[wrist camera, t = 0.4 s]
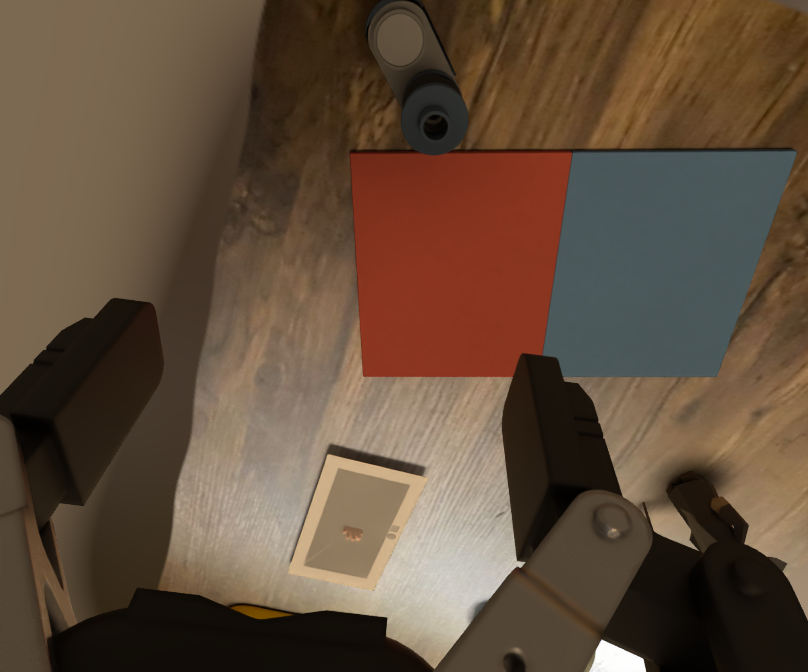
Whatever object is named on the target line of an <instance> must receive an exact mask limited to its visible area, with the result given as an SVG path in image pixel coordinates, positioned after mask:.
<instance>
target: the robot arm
mask: <svg viewBox="0 0 808 672" xmlns="http://www.w3.org/2000/svg"><path fill="white" fill-rule="evenodd" d="M163 359H164V358H163V352H162V346H161V340H160V335H159V328H158V322H157V317H156V311H155V308H154V306H153V304H151V303H150V302H142V301H135V300H127V299H119V298H113V299H111V300H110V301H109V302H108V303H107V304H106V305H105V306H104V307H103V309H102V310H101V311H100V312H99V313H98V314H97V315H96V316H95V317H94V318H93V319H92V318H83V319H82V320H80V321H78V322H76V323H75V324H73V325H71V326H69V327H67V328H65V329H64V330H62V331H61V332H60V333H59V334H58V335H57V336H56V337H55V338H54V339H53V340H52V341H51V343H50V344H48V346H47V347H46V350H43V351H42V352H41V353H40V354H39V355H38V356H37V357H36V358H35V359H34V363H33V364H30V365H29V366H28V367H27V368H26V369H25V370H24V371H23V372H22V373H21V374H20V375H19V376H18V377H17V378H16V379H15V380H14V381H13V382H12V384H11V385H10V386H9V387H8V388H7V389H6V390H5V391H4V392H3V393H2V394H1V395H0V672H584V670H585V669H586V667H587V665H588V663H589V661H590V660H591V658H592V656H593V654H594V652H595V651H596V649H597V647H598V645H599V643H600V641H601V639H602V640H604V641H606V642H609V643H611V644H613V645H615V646H617V647H619V648H622V649H624V650H626V651H628V652H630V653H632V654H635V655H637V656H639V657H641V658H643V659H644V663H645V668H646V672H808V620H807V618H806V616H805V613H804V611H803V609H802V607H801V605H800V603H799V601H798V598H797V596H796V594H795V592H794V590H793V588H792V586H791V584H790V582H789V580H788V579H787V577H786V576H785V575H784V573H783V572H782V571H781V570H780V569H779V567H778V566H777V565H776V564H775V563H774V562H772V561H771V560H770V559H769V558H768V557H766V556H765V555H764V554H762V553H761V552H759V551H757V550H756V549H754V548H752V547H750V546H748V545H745V544H742V543H739V542H735V541H728V540H725V541H718V542H714V543H713V544H711V545H710V546H709V547H708V548H707V549H706V550H705V552H704V553H702V552H700V551H697V550H695V549H692V548H690V547H687V546H685V545H682V544H680V543H678V542H675V541H673V540H670V539H668V538H665V537H663V536H661V535H659V534H657V533H656V532H654V531H652V530H651V527H650V524H649V522H648V520H647V519H646V517H645V516H644V514H643V513H642V512H641V511H640V510H639V509H638V508H637V507H636V506H635V505H634V504H633V503H631V502H630V501H628V500H627V499H625V498H623V496H622V493H621V490H620V486H619V483H618V480H617V477H616V474H615V471H614V467H613V464H612V461H611V458H610V455H609V451H608V448H607V445H606V442H605V439H603V432H602V429H601V426H600V423H598V416H597V413H596V410H595V407H594V404H593V401H592V400H591V398H590V397H589V396H588V395H587V394H586V392H585V391H584V390H583V389H582V388H581V386H580V385H579V384H578V383H572V382H564V379H563V376H562V372H561V368H560V364H559V361H558V359H557V358H556V357H550V356H543V355H535V354H528V353H522V354H521V355H520V357H519V360H518V363H517V366H516V369H515V372H514V376H513V379H512V382H511V385H510V388H509V392H508V395H507V398H506V401H505V405H504V410H503V416H502V435H503V444H504V453H505V461H506V470H507V479H508V487H509V496H510V504H511V513H512V522H513V530H514V539H515V548H516V556H517V561H521V562H526V563H525V564H524V565H523V566H522V567H521V568H519V567H516V568H515V569H514V570H513V571H512V572H511V573H510V574H509V575H508V576H507V578H506V579H505V580H504V581H503V583H502V584H501V585H500V587H499V588H498V589H497V590H496V592H495V593H494V594H493V596H492V597H491V598H490V599H489V601H488V602H487V603H486V604H485V606H484V607H483V608H482V610H481V611H480V612H479V613H478V615H477V616H476V617H475V618H474V620H473V621H472V622H471V624H470V625H469V626H468V627H467V629H466V630H465V631H464V633H463V634H462V635H461V636H460V638H459V639H458V640H457V641H456V643H455V644H454V645H453V647H452V648H451V649H450V650H449V652H448V653H447V654H446V656H445V657H444V658H443V659H442V661H441V662H440V663H439V664H438V666H437V667H436V668H435V669H434V668H432V667H431V666H430V665H429V664H428V663H427V662H426V661H425V660H424V659H423V658H422V657H421V656H419V655H418V654H417V653H415V652H414V651H413V650H411V649H410V648H408V647H406V646H405V645H403V644H401V643H400V642H398V641H396V640H393V639H391V638H389V637H386V628H387V618H386V617H378V616H369V615H361V614H353V613H344V612H336V611H327V610H325V611H318V612H311V613H304V614H297V615H289V616H282V617H275V618H268V619H256V618H253V617H250V616H248V615H246V614H243V613H241V612H238V611H236V610H234V609H231V608H229V607H226V606H224V605H222V604H219V603H217V602H214V601H212V600H210V599H207V598H205V597H202V596H200V595H194V594H185V593H177V592H168V591H160V590H151V589H143V588H137V589H136V591H135V593H134V596H133V598H132V600H131V602H130V604H129V606H128V608H123V609H118V610H114V611H110V612H106V613H103V614H100V615H97V616H94V617H91V618H89V619H86V620H84V621H82V622H80V623H78V624H77V622H76V619H75V616H74V614H73V610H72V606H71V603H70V599H69V594H68V590H67V585H66V580H65V576H64V571H63V567H62V562H61V557H60V552H59V548H58V543H57V539H56V534H55V530H54V525H53V522H52V520H51V516H52V514H53V513H54V511H55V510H56V508H57V507H58V505H59V504H60V503H63V504H71V505H79V506H84V505H85V503H86V501H87V500H88V498H89V497H90V495H91V493H92V491H93V490H94V488H95V487H96V485H97V483H98V482H99V480H100V479H101V477H102V476H103V474H104V472H105V471H106V469H107V467H108V466H109V464H110V463H111V461H112V460H113V458H114V456H115V455H116V453H117V452H118V450H119V448H120V447H121V445H122V443H123V442H124V440H125V439H126V437H127V435H128V433H129V432H130V431H131V429H132V427H133V426H134V424H135V423H136V421H137V419H138V418H139V416H140V415H141V413H142V411H143V410H144V408H145V406H146V405H147V403H148V402H149V400H150V398H151V397H152V395H153V394H154V392H155V390H156V389H157V387H158V385H159V383H160V381H161V377H162V373H163V367H164V360H163Z"/></svg>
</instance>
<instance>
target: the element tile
mask: <svg viewBox="0 0 808 672" xmlns="http://www.w3.org/2000/svg"><path fill="white" fill-rule="evenodd" d="M230 608H231V609H234V610H236V611H238V612H241V613H243V614H246V615H248V616H250V617H253V618H256V619H268V618H275V617H282V616H289V615H295V614H290V613H285V612H280V611H275V610H270V609H265V608H260V607H254V606H248V605H236V606H233V607H230Z"/></svg>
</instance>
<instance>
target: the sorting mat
mask: <svg viewBox="0 0 808 672" xmlns="http://www.w3.org/2000/svg"><path fill="white" fill-rule="evenodd" d="M796 154H797V151H796V150H793V149H715V150H571V151H570V150H539V151H450V152H447V153H445V154H442V155H435V156H432V155H426V154H422V153H420V152H418V151H364V152H351V153H350V163H351V180H352V197H353V214H354V230H355V247H356V264H357V281H358V298H359V315H360V332H361V348H362V365H363V376H364V377H513V376H514V372H515V369H516V366H517V363H518V360H519V357H520V355H521V354H522V353H528V354H535V355H543V356H550V357H556V358H557V359H558V361H559V364H560V368H561V372H562V376H563V377H717V375H718V372H719V369H720V367H721V364H722V361H723V358H724V355H725V353H726V350H727V347H728V344H729V341H730V339H731V336H732V333H733V330H734V327H735V325H736V322H737V319H738V316H739V313H740V311H741V308H742V305H743V302H744V300H745V297H746V294H747V291H748V288H749V286H750V283H751V280H752V277H753V274H754V272H755V269H756V266H757V263H758V260H759V258H760V255H761V252H762V249H763V247H764V244H765V241H766V238H767V235H768V233H769V230H770V227H771V224H772V221H773V219H774V216H775V213H776V210H777V207H778V205H779V202H780V199H781V196H782V193H783V191H784V188H785V185H786V182H787V180H788V177H789V174H790V171H791V168H792V166H793V163H794V160H795V157H796Z"/></svg>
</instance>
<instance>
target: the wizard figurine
mask: <svg viewBox="0 0 808 672" xmlns="http://www.w3.org/2000/svg"><path fill="white" fill-rule="evenodd" d="M680 477H681V479H682V480H683V481H684V482H685V483H683V484H680V485H672V484H670V486H669V488H668V490H667V494H668V497H669V499H670V500H671V502H672V503H673V505H674V506H675V507H676V509H677V510H678V512H679V513H680V515H681V516H682V517H683V519H684V520H685V522H686V523H687V525H688V526H689V528H690V529H691V536H690V541H691V542H692V543H693V544H694V546H695V547H696V548H697V549H698V550H699V551H700V552H702V553H704V552H705V550H706V549H707V548H708V547H709V546H710V545H711V544H713V543H714V542H718V541H725V540H728V541H735V542H739V543H742V544H744V543H745V539H746V535H747V531H748V527H749V525H748V524H747V523H746V521H745V520H744V519H743V518H742V517H741V516H740V515H739V514H738V512H737V511H736V510H735V509H734V508H733V507H732V506H731V505H730V504H729V503H728V501H727V500H725V499H724V498H723V497H719V496H718V494H717V492H716V490H715V488H714V485H712V484H711V483H710V482H709V481H708V480H701V479H700V478H699V476H698V475H697V474H695V473H694V472H692V471H690V472H687V473H685V474H683V475H681V476H680ZM643 507H644V510H645V514H646V517H647V520H648V522H649V524H650V527H651V530H652V531H654V530H653V527H652V524H651V521H650V518H649V515H648V512H647V508H646V505H645V502H643ZM732 525H733V526H734V528H733V526H732ZM768 558H769V559H770V560H771V561H772V562H774V563H775V564H776V565H777V566H778V567H779V569H780V570H781V571H783V570H784V568H785V566H786V565H787V563H785V562H783V561H781V560H779V559H777V558H773V557H768Z"/></svg>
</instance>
